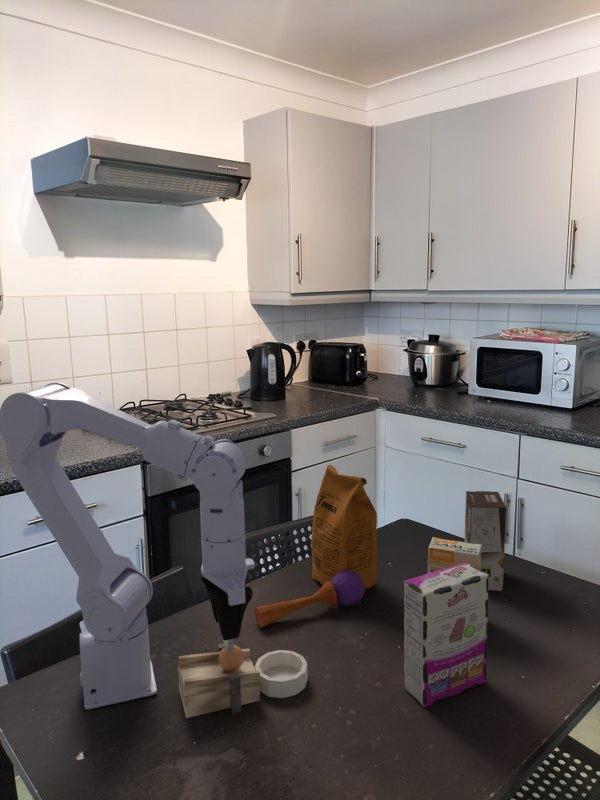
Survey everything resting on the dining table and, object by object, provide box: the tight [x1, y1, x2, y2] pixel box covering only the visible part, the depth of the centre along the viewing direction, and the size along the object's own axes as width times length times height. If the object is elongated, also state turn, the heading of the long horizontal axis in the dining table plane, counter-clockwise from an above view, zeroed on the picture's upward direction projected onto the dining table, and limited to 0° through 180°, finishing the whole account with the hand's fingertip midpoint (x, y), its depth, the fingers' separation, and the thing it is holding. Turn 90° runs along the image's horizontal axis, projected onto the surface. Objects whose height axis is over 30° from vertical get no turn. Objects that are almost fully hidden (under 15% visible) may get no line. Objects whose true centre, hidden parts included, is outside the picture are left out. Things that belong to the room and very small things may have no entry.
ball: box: [219, 644, 244, 672], centre depth 85 cm, size 3×3×3 cm
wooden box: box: [177, 642, 261, 719], centre depth 84 cm, size 10×9×5 cm
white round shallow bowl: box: [254, 649, 308, 699], centre depth 88 cm, size 7×7×2 cm
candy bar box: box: [403, 563, 489, 708], centre depth 85 cm, size 11×5×16 cm, turn 117°
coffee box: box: [463, 490, 507, 592], centre depth 116 cm, size 9×6×16 cm
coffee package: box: [310, 464, 378, 590], centre depth 115 cm, size 10×12×22 cm
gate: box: [221, 636, 235, 652], centre depth 84 cm, size 2×4×5 cm, turn 19°
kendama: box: [253, 570, 366, 629], centre depth 106 cm, size 6×6×20 cm
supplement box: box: [426, 536, 482, 574], centre depth 102 cm, size 8×5×13 cm, turn 68°
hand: (226, 628), depth 84 cm, fingers closed on gate, 4 cm apart
